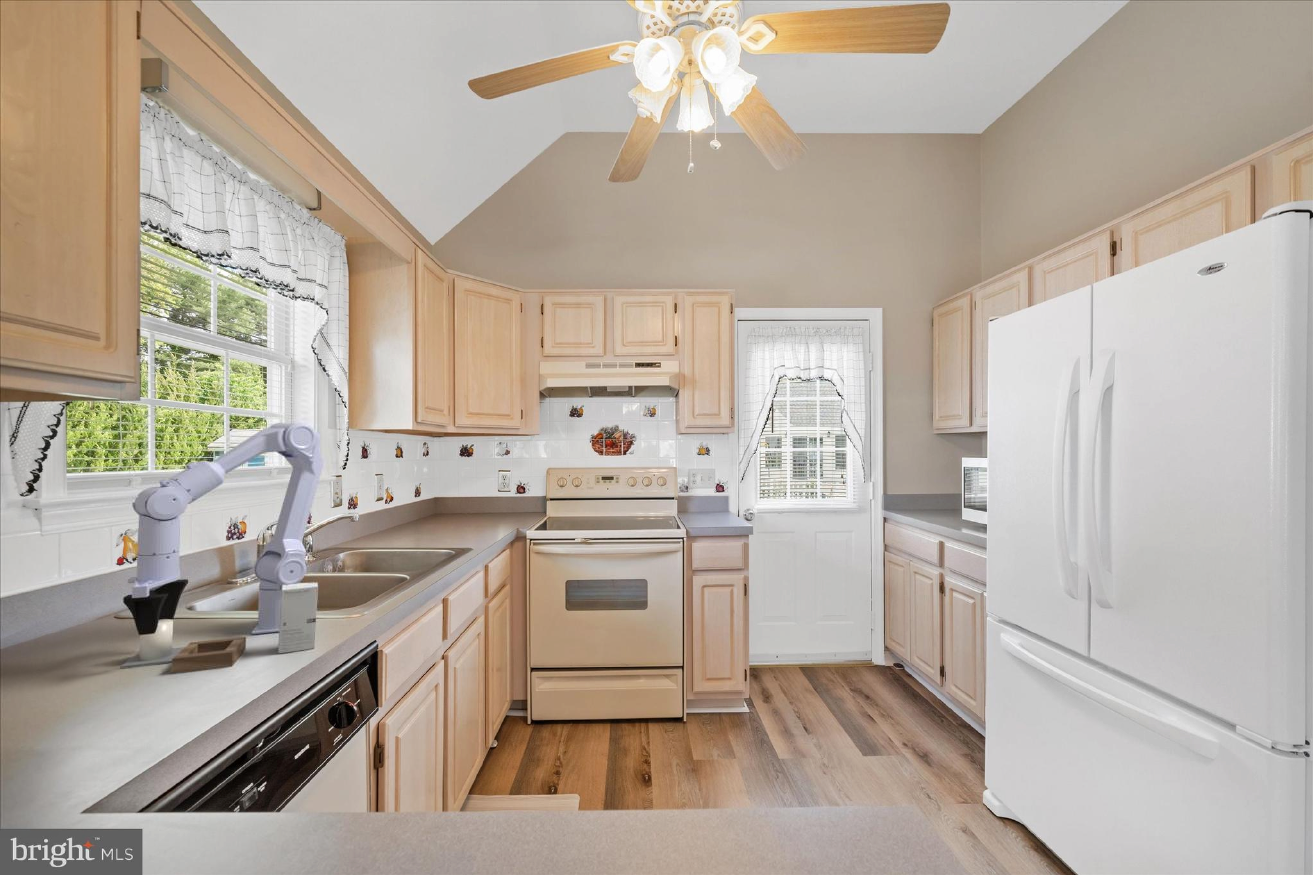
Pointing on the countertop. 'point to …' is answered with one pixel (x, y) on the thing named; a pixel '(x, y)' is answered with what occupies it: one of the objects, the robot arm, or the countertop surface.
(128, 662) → the slate mat
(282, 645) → the skincare box
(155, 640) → the cream rounded capsule
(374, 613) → the countertop surface
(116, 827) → the countertop surface
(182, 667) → the walnut holder
